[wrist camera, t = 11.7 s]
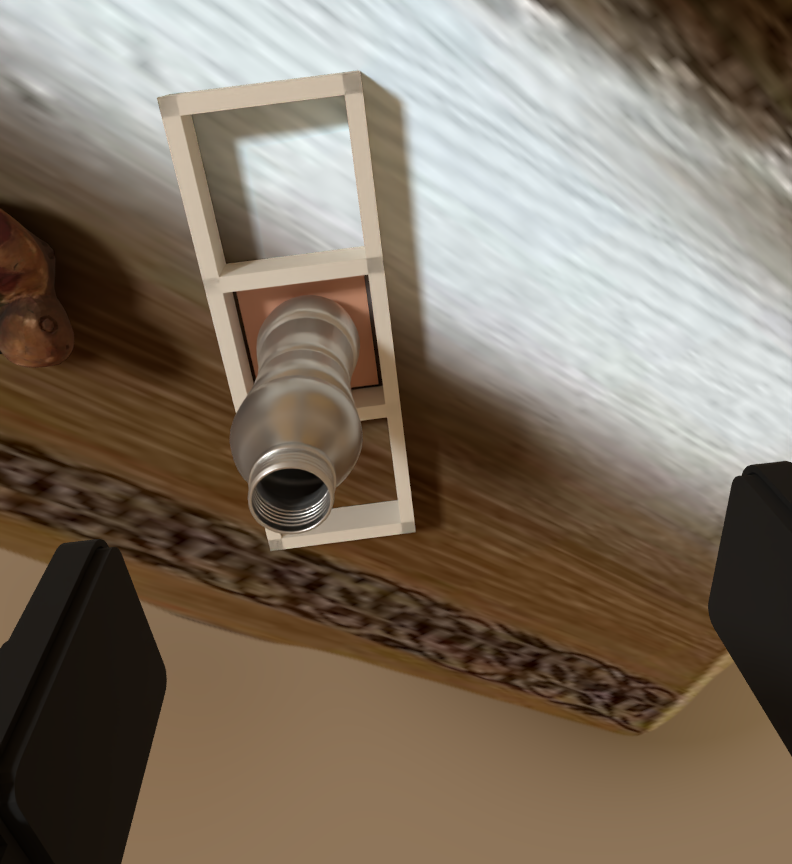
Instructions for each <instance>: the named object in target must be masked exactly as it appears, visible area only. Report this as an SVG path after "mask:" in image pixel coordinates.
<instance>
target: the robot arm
mask: <svg viewBox="0 0 792 864" xmlns="http://www.w3.org/2000/svg"><path fill="white" fill-rule="evenodd" d="M708 610H709V616H710V620H711V623H712V625H713V627H714V629H715V631H716V632H717V634H718V636H719V637H720V639H721V640H722V642H723V644H724V645H725V647H726V649H727V650H728V652H729V654H730V655H731V657H732V659H733V660H734V662H735V664H736V665H737V667H738V668H739V670H740V672H741V673H742V675H743V677H744V678H745V680H746V682H747V683H748V685H749V687H750V688H751V690H752V691H753V693H754V695H755V696H756V698H757V700H758V701H759V703H760V705H761V706H762V708H763V710H764V711H765V713H766V715H767V716H768V718H769V720H770V721H771V723H772V725H773V726H774V728H775V730H776V731H777V733H778V734H779V736H780V738H781V739H782V741H783V743H784V744H785V746H786V748H787V749H788V751H789V753H790V754H791V756H792V463H791V462H788V461H782V462H773V463H764V464H755V465H750V466H747V467H746V468H745V469H744V471H743V473H742V476H737V477H735V479H734V480H733V482H732V486H731V491H730V496H729V501H728V506H727V511H726V516H725V521H724V526H723V531H722V536H721V541H720V546H719V552H718V557H717V562H716V567H715V572H714V577H713V582H712V587H711V592H710V597H709V603H708ZM166 680H167V679H166V669H165V666H164V663H163V660H162V658H161V655H160V652H159V650H158V648H157V645H156V642H155V640H154V637H153V634H152V632H151V630H150V627H149V624H148V621H147V619H146V616H145V614H144V611H143V608H142V606H141V603H140V601H139V598H138V596H137V593H136V590H135V588H134V585H133V583H132V580H131V577H130V575H129V572H128V570H127V567H126V565H125V562H124V559H123V557H122V554H121V552H120V550H119V549H118V548H116V547H111V548H109V547H108V545H107V543H106V542H105V541H104V540H101V539H96V540H87V541H78V542H69V543H63V544H61V545H60V546H59V547H58V548H57V550H56V551H55V553H54V555H53V557H52V559H51V561H50V563H49V565H48V567H47V568H46V570H45V572H44V574H43V576H42V578H41V580H40V582H39V584H38V586H37V587H36V589H35V591H34V593H33V595H32V597H31V599H30V601H29V603H28V604H27V606H26V608H25V610H24V612H23V614H22V616H21V618H20V619H19V621H18V623H17V625H16V627H15V629H14V631H13V633H12V635H11V637H10V639H9V640H8V641H7V642H5V643H4V644H3V645H2V647H1V648H0V864H121V862H122V858H123V854H124V850H125V846H126V842H127V838H128V835H129V831H130V827H131V823H132V819H133V815H134V811H135V808H136V803H137V800H138V796H139V792H140V788H141V784H142V780H143V776H144V773H145V769H146V765H147V761H148V757H149V753H150V749H151V746H152V741H153V738H154V734H155V730H156V726H157V722H158V718H159V714H160V711H161V707H162V703H163V699H164V695H165V690H166V682H167V681H166Z"/></svg>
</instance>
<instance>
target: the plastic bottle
mask: <svg viewBox="0 0 792 864" xmlns="http://www.w3.org/2000/svg"><path fill="white" fill-rule="evenodd" d="M256 350H257V361H258V366H259V368H258V375H257V378H256V380H255V383H254V385H253V387H252V389H251V390H250V392H249V393H248V395H247V396H246V398H245V399H244V401H243V402H242V404H241V406H240V407H239V409H238V411H237V413H236V416H235V418H234V420H233V423H232V427H231V430H230V446H231V452H232V455H233V459H234V462H235V464H236V467H237V469H238V471H239V472H240V474H241V475H242V477H243V478H244V479H245V480H246V481H247V482H248V486H249V492H248V503H249V509H250V511H251V513H252V515H253V517H254V518H255V520H256V521H257V522H258V523H259V524H261V525H262V526H263V527H265V528H266V529H268V530H271V531H273V532H276V533H280V534H290V535H292V534H300V533H304V532H308V531H310V530H312V529H315V528H316V527H318V526H319V525H321V524H322V523H323V522H324V521H325V520H326V518H327V517H328V516H329V514H330V512H331V510H332V507H333V503H334V492H335V489H336V487H337V486H339V485H340V484H341V483H342V482H343V481H344V480H345V479H346V477H347V476H348V475H349V473H350V472H351V470H352V469H353V467H354V465H355V463H356V462H357V459H358V457H359V454H360V452H361V447H362V441H363V439H362V427H361V421H360V418H359V414H358V411H357V409H356V406H355V403H354V400H353V397H352V391H351V384H350V382H351V377H352V374H353V372H354V369H355V367H356V364H357V361H358V357H359V352H360V338H359V334H358V331H357V328H356V326H355V324H354V322H353V321H352V319H351V317H350V315H349V314H348V313H347V312H346V310H345V309H344V308H343V307H341V306H340V305H339V304H338V303H336V302H334V301H332V300H330V299H329V298H325V297H322V296H317V295H302V296H297V297H294V298H291V299H289V300H287V301H285V302H283V303H281V304H280V305H279V306H278V307H276V308H275V309H274V310H273V311H272V312H271V313H270V315H269V316H268V317H267V318H266V319H265V320H264V322H263V324H262V326H261V328H260V330H259V333H258V337H257V346H256Z"/></svg>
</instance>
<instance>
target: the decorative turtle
mask: <svg viewBox="0 0 792 864" xmlns="http://www.w3.org/2000/svg"><path fill="white" fill-rule="evenodd" d="M55 260H56V257H55V256H54V251H53V249H52V248H51V247H50V246H49V244H48V243H46V242H45V241H43V240H41V239H39V238H38V237H37V236H36V235H34V234H32V233H31V232H30V231H29V230H27V229H26V228H25V227H23V226H22V225H21V224H20V223H19V222H18V221H16V220H15V219H14V218H13V217H11V216H10V215H9V214H7V213H6V212H4V211H3V210H2V209H0V354H3V355H4V356H5V357H6V358H7V359H8V360H10V361H11V362H13V363H15V364H17V365H20V366H24V367H35V368H36V367H47V366H53V365H57V364H60V363H61V362H63V361H64V360H65V359H67V358H68V356H69V355H70V354H71V352H72V350H73V347H74V332H73V329H72V326H71V323H70V321H69V318H68V316H67V313H66V311H65V309H64V307H63V306H62V305H61V303H60V302H59V300H58V299H57V297H56V293H55V286H54V285H55Z"/></svg>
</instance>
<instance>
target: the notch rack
mask: <svg viewBox="0 0 792 864" xmlns="http://www.w3.org/2000/svg"><path fill="white" fill-rule="evenodd" d="M340 95H345V101H346V109H347V116H348V124H349V131H350V139H351V147H352V154H353V162H354V169H355V177H356V185H357V192H358V200H359V207H360V215H361V222H362V230H363V238H364V245H365V246H361V247H353V248H345V249H338V250H330V251H322V252H314V253H306V254H298V255H291V256H283V257H275V258H267V259H259V260H252V261H244V262H236V263H228V264H226V261H225V257H224V253H223V249H222V244H221V240H220V236H219V231H218V227H217V223H216V218H215V214H214V210H213V205H212V201H211V197H210V192H209V188H208V184H207V180H206V175H205V171H204V167H203V162H202V158H201V154H200V149H199V145H198V141H197V136H196V132H195V128H194V123H193V119H192V115H191V114H198V113H206V112H214V111H222V110H229V109H237V108H245V107H253V106H261V105H269V104H277V103H285V102H293V101H301V100H308V99H316V98H324V97H332V96H340ZM157 100H158V104H159V108H160V112H161V116H162V120H163V124H164V128H165V132H166V136H167V140H168V144H169V148H170V152H171V156H172V160H173V164H174V168H175V172H176V176H177V180H178V184H179V188H180V192H181V196H182V200H183V204H184V208H185V212H186V216H187V220H188V224H189V228H190V232H191V236H192V240H193V244H194V248H195V251H196V255H197V259H198V263H199V267H200V271H201V275H202V279H203V283H204V287H205V291H206V295H207V299H208V303H209V307H210V311H211V315H212V319H213V323H214V327H215V331H216V335H217V339H218V343H219V347H220V351H221V355H222V359H223V363H224V367H225V371H226V375H227V379H228V383H229V387H230V391H231V395H232V399H233V403H234V407H235V411H236V413H237V411H238V409H239V407H240V406H241V404H242V402H243V401H244V399H245V398H246V396H247V395H248V393H249V392H250V390H251V389H252V387H253V385H254V382H253V378H252V374H251V369H250V365H249V361H248V356H247V352H246V348H245V343H244V339H243V335H242V331H241V326H240V322H239V318H238V313H237V309H236V305H235V300H234V296H233V292H235V291H236V293H237V297H238V302H239V306H240V310H241V315H242V319H243V323H244V328H245V332H246V336H247V341H248V345H249V350H250V354H251V358H252V363H253V367H254V371H255V376H256V378H257V375H258V368H259V366H258V361H257V350H256V346H257V337H258V333H259V330H260V328H261V326H262V324H263V322H264V320H265V319H266V318H267V317H268V316H269V315H270V313H271V312H272V311H273V310H274V309H275V308H276V307H278V306H279V305H280V304H281V303H283V302H285V301H287V300H289V299H291V298H294V297H297V296H302V295H317V296H322V297H325V298H329V299H330V300H332V301H334V302H336V303H338V304H339V305H340V306H341V307H343V308H344V309H345V310H346V312H347V313H348V314H349V315H350V317H351V319H352V321H353V322H354V324H355V326H356V328H357V331H358V334H359V338H360V352H359V357H358V361H357V364H356V367H355V369H354V372H353V374H352V377H351V382H350V384H351V388H352V387H360V386H367V385H375V384H379V383H378V375H377V368H376V360H375V353H374V346H373V338H372V331H371V323H370V316H369V309H368V301H367V294H366V286H365V279H364V275H368V276H369V283H370V291H371V298H372V306H373V314H374V321H375V329H376V336H377V344H378V352H379V359H380V367H381V374H382V382H383V386H376V387H368V388H360V389H352V390H351V391H352V397H353V400H354V403H355V406H356V409H357V411H358V414H359V418H360V421H362V420H370V419H378V418H385V417H387V420H388V427H389V435H390V443H391V450H392V458H393V465H394V473H395V481H396V488H397V496H398V500H396V501H388V502H380V503H373V504H365V505H357V506H350V507H342V508H334V509H332V510H331V512H330V514H329V516H328V517H327V518H326V520H325V521H324V522H323V523H322V524H321V525H319V526H318V527H316V528H315V529H312V530H310V531H308V532H304V533H300V534H292V535H290V534H280V533H276V532H273V531H271V530H268V529H266V528H265V530H266V534H267V538H268V542H269V546H270V550H271V551H274V550H281V549H289V548H297V547H304V546H312V545H320V544H327V543H335V542H342V541H350V540H358V539H365V538H373V537H381V536H388V535H396V534H404V533H411V532H416V531H415V522H414V514H413V506H412V497H411V489H410V481H409V472H408V464H407V456H406V447H405V439H404V431H403V422H402V414H401V406H400V397H399V389H398V381H397V372H396V364H395V356H394V347H393V339H392V331H391V322H390V314H389V306H388V297H387V289H386V281H385V272H384V264H383V256H382V247H381V239H380V231H379V222H378V214H377V206H376V197H375V189H374V181H373V172H372V164H371V156H370V147H369V139H368V131H367V122H366V114H365V106H364V97H363V89H362V81H361V72H360V71H359V70H358V71H351V72H343V73H335V74H327V75H319V76H311V77H303V78H295V79H287V80H279V81H271V82H264V83H256V84H248V85H240V86H232V87H224V88H216V89H208V90H200V91H192V92H184V93H176V94H169V95H165V96H162V97H158V98H157Z"/></svg>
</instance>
